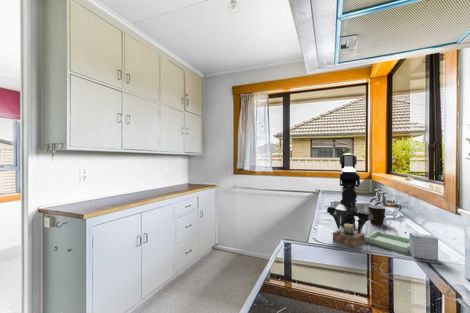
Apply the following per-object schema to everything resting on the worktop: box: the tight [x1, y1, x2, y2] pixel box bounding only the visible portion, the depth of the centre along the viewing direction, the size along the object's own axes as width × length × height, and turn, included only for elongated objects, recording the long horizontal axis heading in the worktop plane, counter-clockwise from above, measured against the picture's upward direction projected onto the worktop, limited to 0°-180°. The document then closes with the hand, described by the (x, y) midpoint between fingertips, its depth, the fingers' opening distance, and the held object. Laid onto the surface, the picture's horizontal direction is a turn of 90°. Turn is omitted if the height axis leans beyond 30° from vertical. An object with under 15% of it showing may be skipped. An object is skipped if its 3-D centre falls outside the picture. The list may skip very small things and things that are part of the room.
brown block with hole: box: [332, 227, 365, 248], centre depth 106 cm, size 10×10×4 cm
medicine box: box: [408, 232, 439, 261], centre depth 90 cm, size 8×4×9 cm, turn 71°
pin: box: [343, 223, 354, 235], centre depth 106 cm, size 3×3×8 cm
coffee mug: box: [368, 204, 386, 226], centre depth 132 cm, size 12×9×10 cm
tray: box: [364, 230, 410, 255], centre depth 103 cm, size 16×14×2 cm
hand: (348, 231), depth 106 cm, fingers open, 9 cm apart
